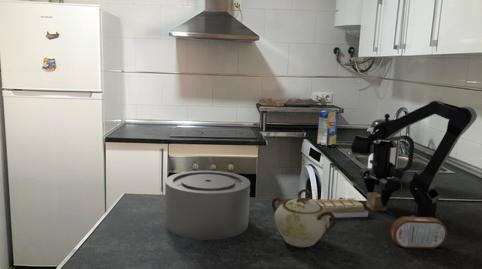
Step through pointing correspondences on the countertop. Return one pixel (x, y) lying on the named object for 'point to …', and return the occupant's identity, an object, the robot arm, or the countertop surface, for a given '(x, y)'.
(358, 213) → the dock
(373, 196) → the brown wooden cube
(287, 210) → the sugar bowl
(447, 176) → the countertop surface
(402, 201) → the countertop surface
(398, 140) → the coffee press
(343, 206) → the pallet
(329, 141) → the beverage box
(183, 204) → the container
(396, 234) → the tin
